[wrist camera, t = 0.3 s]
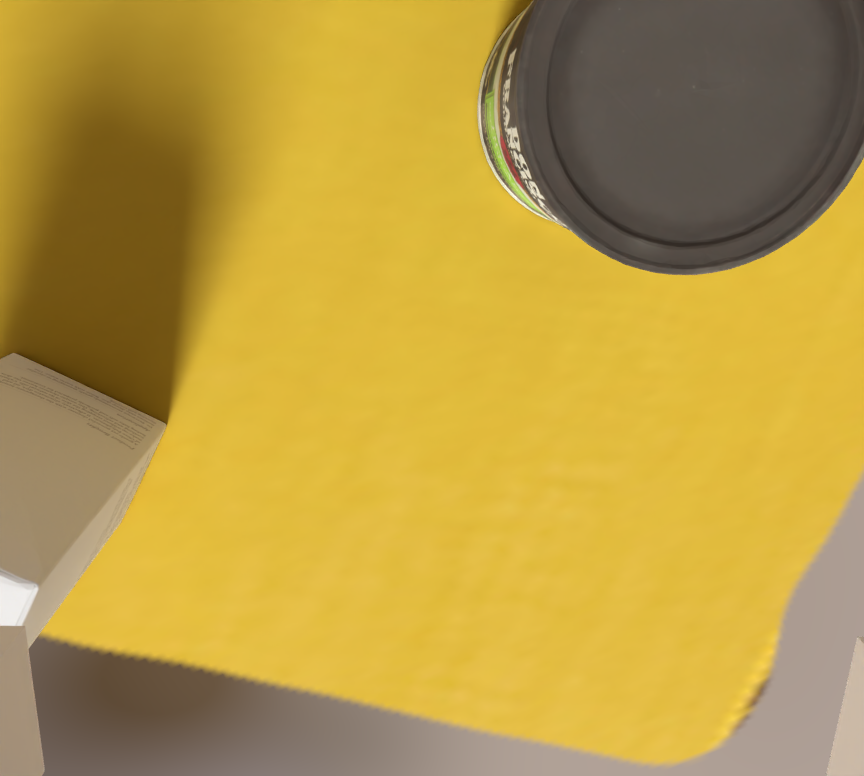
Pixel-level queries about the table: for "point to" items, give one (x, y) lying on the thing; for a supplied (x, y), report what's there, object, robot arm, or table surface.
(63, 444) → the skincare box
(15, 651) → the robot arm
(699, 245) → the coffee can
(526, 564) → the table surface
